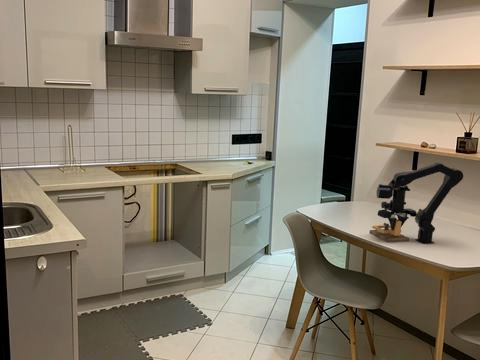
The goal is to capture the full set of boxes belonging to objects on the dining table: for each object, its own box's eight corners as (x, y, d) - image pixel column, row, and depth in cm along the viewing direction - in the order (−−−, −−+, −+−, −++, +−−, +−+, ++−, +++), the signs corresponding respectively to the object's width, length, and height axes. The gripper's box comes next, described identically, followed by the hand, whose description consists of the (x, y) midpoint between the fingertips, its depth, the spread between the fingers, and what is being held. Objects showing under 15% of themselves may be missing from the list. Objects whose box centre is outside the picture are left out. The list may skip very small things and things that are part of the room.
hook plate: (409, 241, 231) (410, 229, 229) (388, 242, 227) (389, 230, 226) (389, 231, 245) (390, 220, 244) (369, 232, 242) (370, 221, 241)
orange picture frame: (372, 227, 241) (373, 214, 240) (388, 226, 244) (390, 213, 243) (388, 235, 228) (390, 222, 227) (406, 234, 231) (407, 220, 230)
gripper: (404, 195, 239) (401, 224, 241) (372, 196, 233) (369, 226, 236) (418, 199, 228) (415, 230, 231) (386, 201, 222) (382, 233, 225)
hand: (395, 230), depth 231 cm, fingers closed on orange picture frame, 3 cm apart
